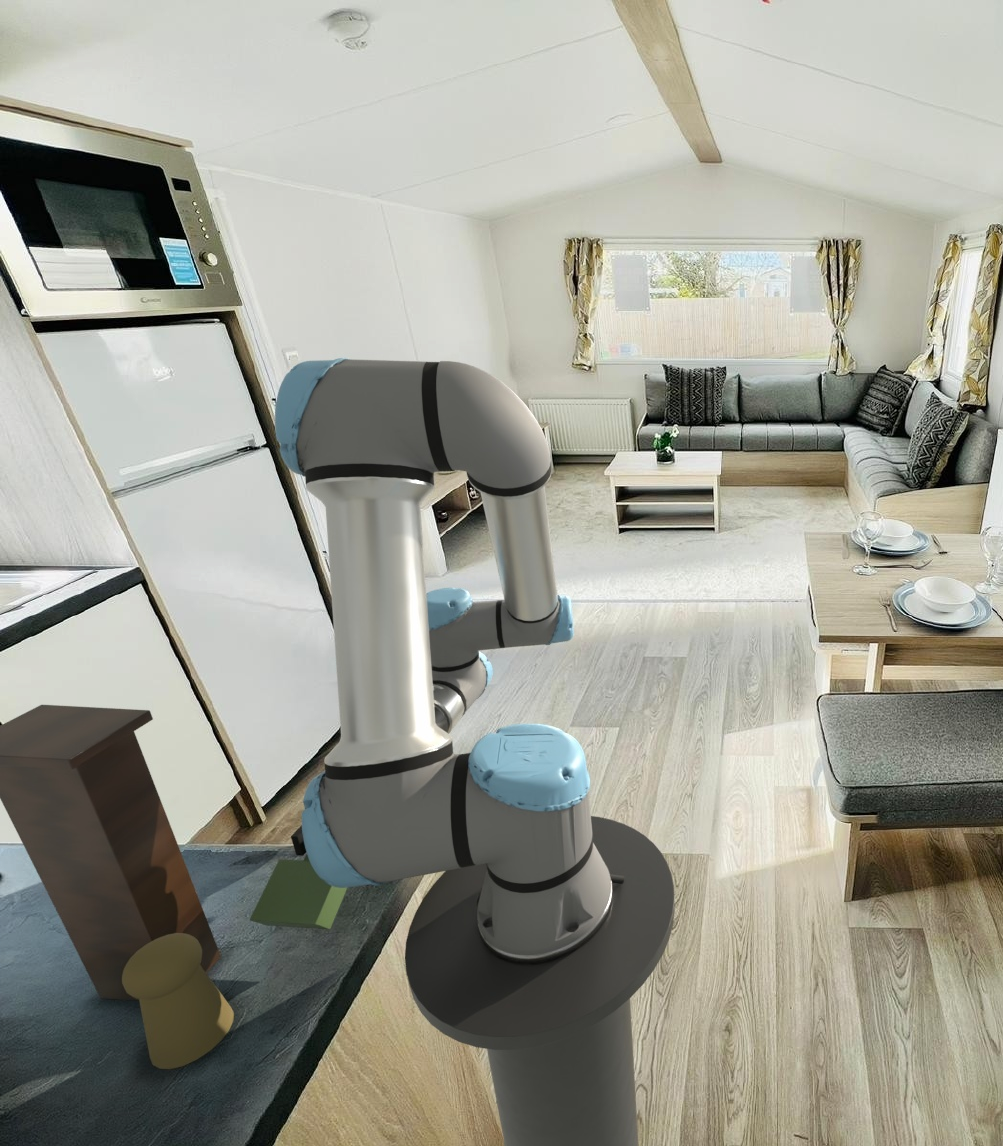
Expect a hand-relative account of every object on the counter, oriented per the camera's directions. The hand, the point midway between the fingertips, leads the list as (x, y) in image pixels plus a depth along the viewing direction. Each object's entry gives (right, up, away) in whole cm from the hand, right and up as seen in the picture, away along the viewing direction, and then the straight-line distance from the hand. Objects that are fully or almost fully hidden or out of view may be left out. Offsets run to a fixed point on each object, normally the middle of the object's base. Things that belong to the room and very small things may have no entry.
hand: (311, 846), depth 70 cm
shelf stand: (-12, -11, -5) cm, 17 cm away
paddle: (0, -2, +3) cm, 4 cm away
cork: (-4, -14, -10) cm, 17 cm away
